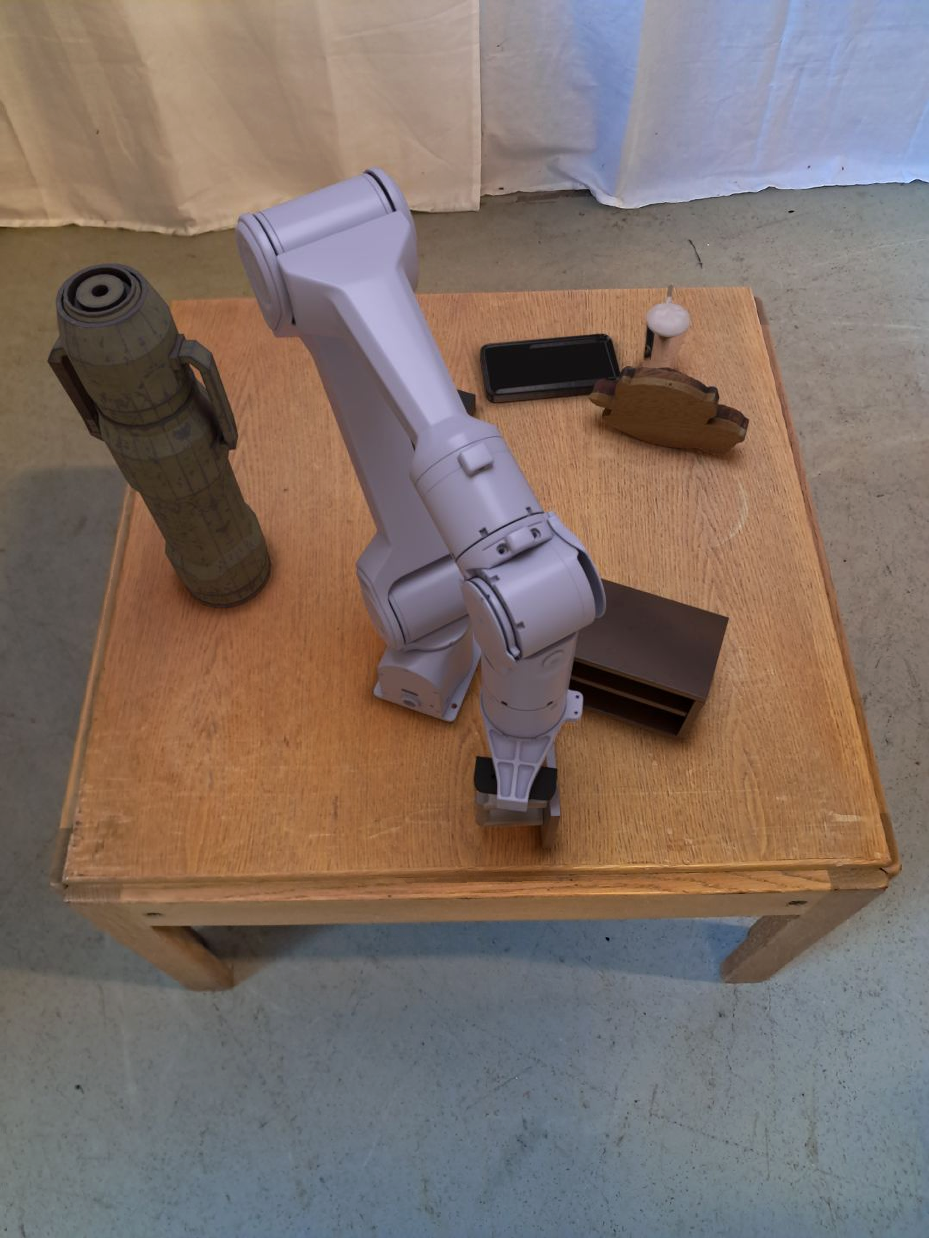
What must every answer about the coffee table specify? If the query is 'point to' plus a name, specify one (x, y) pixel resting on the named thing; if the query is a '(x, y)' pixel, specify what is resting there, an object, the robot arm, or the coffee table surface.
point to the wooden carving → (669, 410)
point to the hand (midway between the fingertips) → (520, 749)
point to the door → (535, 814)
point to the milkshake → (664, 333)
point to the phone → (547, 367)
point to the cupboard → (647, 660)
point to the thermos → (161, 426)
